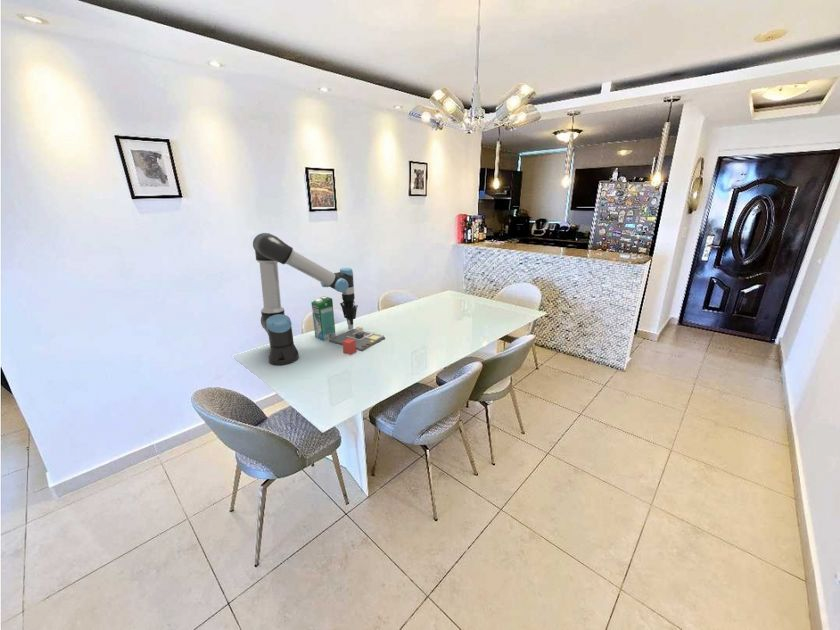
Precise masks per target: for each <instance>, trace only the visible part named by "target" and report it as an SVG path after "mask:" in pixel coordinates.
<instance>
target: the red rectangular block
mask: <svg viewBox="0 0 840 630" xmlns="http://www.w3.org/2000/svg"><path fill="white" fill-rule="evenodd" d="M342 342H343V345H342V352H343V353H344V354H346V355H349V356H351V355H352V354H355V353H357V350H356V341H355V340H353V339H350V338H348V339H346V340H344V341H342Z"/></svg>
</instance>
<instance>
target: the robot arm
mask: <svg viewBox="0 0 840 630" xmlns="http://www.w3.org/2000/svg"><path fill="white" fill-rule="evenodd" d="M252 247H253V249H254V254H255V261H257V263H259V273H260V280H261V290H262V292H261V293H262V301H263V308H262V309H261V310H260V313H261V317H260V325H261V327H262V329H264V330H265V332H266V333H267V335H268V340H269V346H270V347H269V353H268V362H269V364H271V365H275V366H285V365H290V364H292V363H294V362H296V361H297V360H298V359H299V357H300V353H299V351H298V349H297V347H296V345H295V344H294V336H293V329H292V328H293V327H292V325H293V324H292V321H291V318H290V317H289V316H288V315H286V314H285V308H284V307H283V306H282V305H281V304H282V303H281V291H280V278H279V269H278V268H279V267H278V263H279V264H281V265H288V266H290V267H292V268H293V269H295V270H297V271H299V272H301V273H302V274H305V275H306V276H309V277H310V278H312V279H314V280H316V281H318V282H320V284H321V287H322V288H329V287H330V288H331V289H333V290H335V291H336V292H340V293H341V299H342V302H340V303H339V304H340V306H341V310H342V313H343V318H344V319H346V323H347V327H348V328H347V329H348V331H349V330H351V329H354V326H353V325H354V320H355V319H356V317H357V309H358V307H359V305H358V304H356V303H355V288H354V287H355V285H354V283H355V282H354V272H353V271H354V270H353V268H351V267H340V269H339V272H332V271H330V270H329V269H328V268H325V267H323V266H322V265H320V264H318V263H316V262H315V261H312V260H311V259H309V258H307V257H305V256H304V255H303V254H300V253H298V252H296V251H295V250H294V248H293V247H292V246H290V245H288V243H286V242H284V241H283V240H282V239H280V238H279V237H278V236H276V235H274V234H272V233H268V232H262V233H258V234H257V235H256V236H255V237H254V238H253V241H252Z"/></svg>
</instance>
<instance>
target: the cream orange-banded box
mask: <svg viewBox="0 0 840 630" xmlns="http://www.w3.org/2000/svg"><path fill="white" fill-rule="evenodd" d="M354 329H355V333H359V332H362V333H363V331H364V328H363V327H361V326H357V327H355V328H354Z"/></svg>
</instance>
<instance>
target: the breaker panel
mask: <svg viewBox="0 0 840 630" xmlns="http://www.w3.org/2000/svg"><path fill="white" fill-rule="evenodd" d="M348 338H350V339H353V340H355V341H356V351H360V352H363V351H365V350H367V349H369V348H371V347H373V346H374V345H377V344H379V342H381V341H383V340H385V339H386V337H385V336H384V335H383V334H380V333H376V332H373V333H372V332H369V331H365V330H363V333H362V332H359V333H355V328H353V329H351V330H349V329H348V330H347V331H346V332H343V333H340V334H338V335H336V337H334V338H331V339H328V340H329V342H330V343H334V344H337V345H340V346H343V342H342V341H344V340H346V339H348Z"/></svg>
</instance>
